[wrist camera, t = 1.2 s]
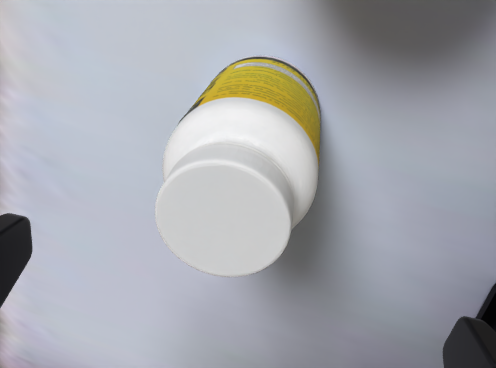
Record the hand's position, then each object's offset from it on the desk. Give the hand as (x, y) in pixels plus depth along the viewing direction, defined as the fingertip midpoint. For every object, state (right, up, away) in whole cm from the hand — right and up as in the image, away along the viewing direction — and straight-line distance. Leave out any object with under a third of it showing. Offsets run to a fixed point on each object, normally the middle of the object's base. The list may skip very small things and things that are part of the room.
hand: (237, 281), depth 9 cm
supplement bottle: (+1, +6, +12) cm, 13 cm away
